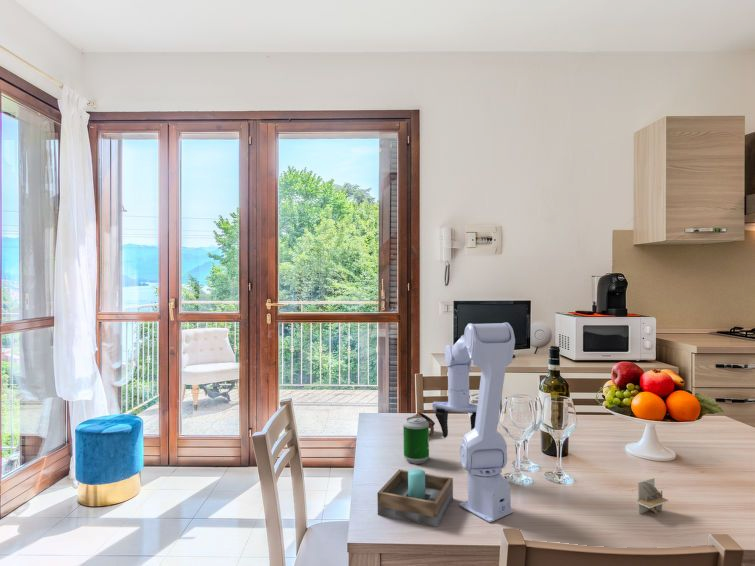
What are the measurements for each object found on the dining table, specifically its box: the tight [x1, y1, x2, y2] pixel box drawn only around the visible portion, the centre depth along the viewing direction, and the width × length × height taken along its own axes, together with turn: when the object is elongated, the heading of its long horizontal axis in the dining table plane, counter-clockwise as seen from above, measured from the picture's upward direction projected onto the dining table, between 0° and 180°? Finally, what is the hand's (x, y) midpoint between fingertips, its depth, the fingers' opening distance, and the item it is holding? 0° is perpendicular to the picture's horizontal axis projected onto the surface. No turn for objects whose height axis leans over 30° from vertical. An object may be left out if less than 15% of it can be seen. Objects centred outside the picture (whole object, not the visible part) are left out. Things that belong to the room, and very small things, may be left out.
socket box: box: [376, 469, 454, 528], centre depth 110 cm, size 14×14×5 cm
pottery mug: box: [411, 412, 436, 437], centre depth 160 cm, size 12×10×8 cm
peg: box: [407, 468, 426, 500], centre depth 110 cm, size 4×4×8 cm
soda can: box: [402, 416, 430, 464], centre depth 138 cm, size 8×8×12 cm
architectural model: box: [635, 477, 669, 515], centre depth 105 cm, size 3×7×7 cm, turn 116°
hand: (459, 438), depth 128 cm, fingers open, 7 cm apart
